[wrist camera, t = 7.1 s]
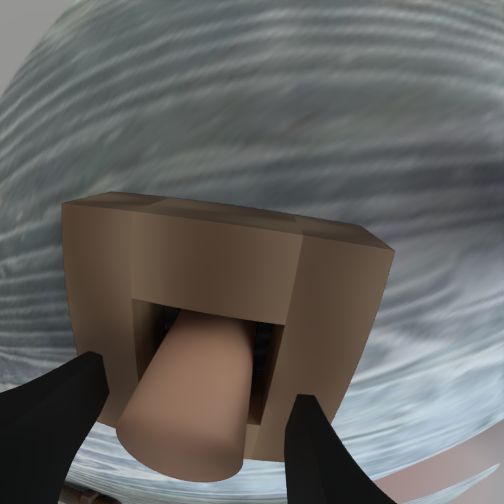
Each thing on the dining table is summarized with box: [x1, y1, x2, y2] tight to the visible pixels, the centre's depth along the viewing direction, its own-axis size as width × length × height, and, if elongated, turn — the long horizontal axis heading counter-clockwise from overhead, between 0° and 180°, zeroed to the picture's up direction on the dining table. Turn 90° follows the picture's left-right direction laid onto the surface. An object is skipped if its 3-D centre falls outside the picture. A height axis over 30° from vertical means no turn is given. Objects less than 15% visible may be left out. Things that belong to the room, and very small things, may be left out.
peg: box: [116, 309, 257, 482], centre depth 11 cm, size 4×4×8 cm
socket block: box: [62, 192, 395, 462], centre depth 13 cm, size 12×12×4 cm
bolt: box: [58, 485, 121, 504], centre depth 23 cm, size 6×5×15 cm
